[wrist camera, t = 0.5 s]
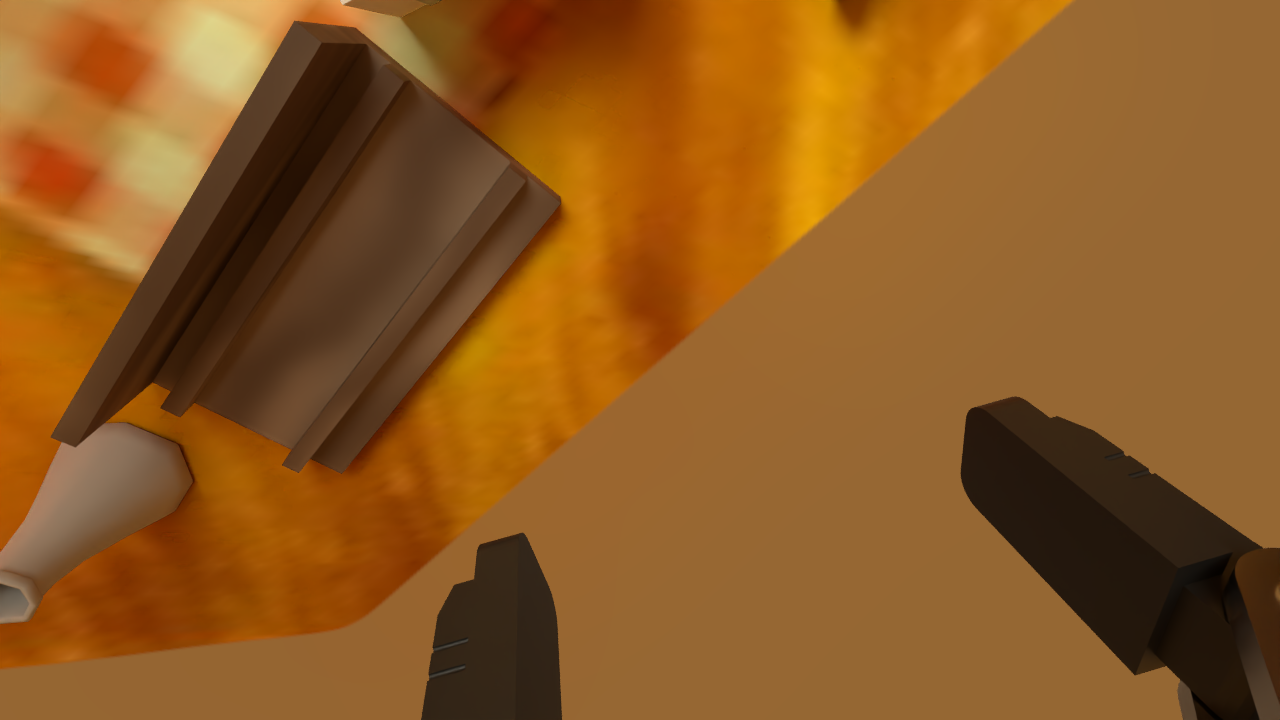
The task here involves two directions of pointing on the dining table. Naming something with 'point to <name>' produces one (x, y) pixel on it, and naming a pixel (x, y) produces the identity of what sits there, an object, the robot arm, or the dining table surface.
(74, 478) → the flask
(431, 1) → the white rectangular block
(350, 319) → the picture ledge
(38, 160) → the dining table surface
